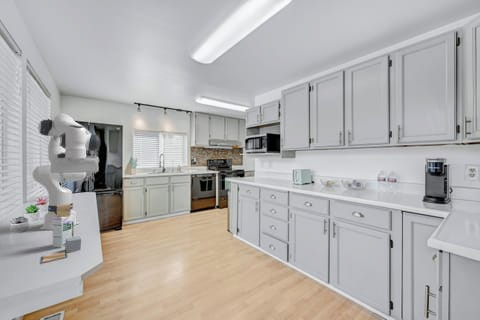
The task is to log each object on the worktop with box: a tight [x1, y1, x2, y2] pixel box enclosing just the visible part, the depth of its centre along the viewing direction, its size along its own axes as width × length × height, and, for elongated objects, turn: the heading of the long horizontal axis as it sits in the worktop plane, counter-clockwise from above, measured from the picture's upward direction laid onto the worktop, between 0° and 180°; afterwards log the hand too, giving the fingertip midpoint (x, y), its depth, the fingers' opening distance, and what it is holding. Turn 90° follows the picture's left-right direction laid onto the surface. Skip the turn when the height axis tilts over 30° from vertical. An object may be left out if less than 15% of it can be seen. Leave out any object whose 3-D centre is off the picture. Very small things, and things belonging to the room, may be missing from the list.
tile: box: [39, 250, 68, 265], centre depth 89 cm, size 8×8×1 cm
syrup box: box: [52, 214, 75, 248], centre depth 102 cm, size 6×6×14 cm
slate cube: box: [64, 236, 82, 254], centre depth 97 cm, size 5×5×5 cm
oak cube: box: [57, 204, 70, 217], centre depth 102 cm, size 5×5×5 cm
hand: (75, 181), depth 112 cm, fingers open, 8 cm apart
